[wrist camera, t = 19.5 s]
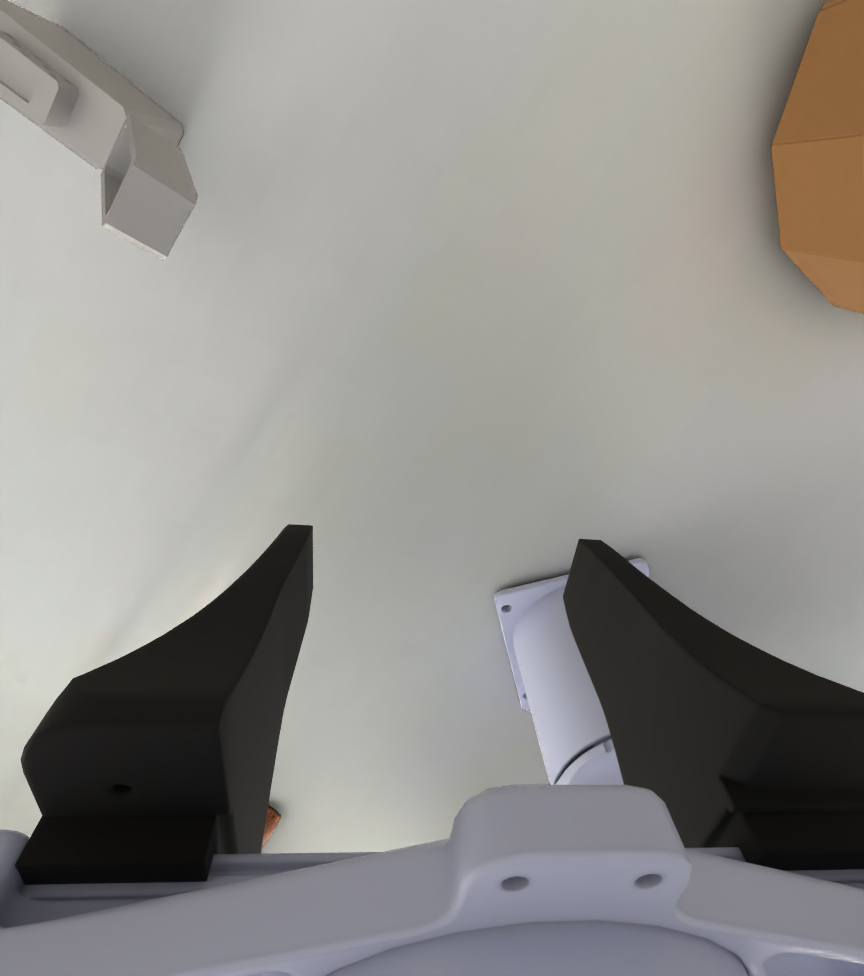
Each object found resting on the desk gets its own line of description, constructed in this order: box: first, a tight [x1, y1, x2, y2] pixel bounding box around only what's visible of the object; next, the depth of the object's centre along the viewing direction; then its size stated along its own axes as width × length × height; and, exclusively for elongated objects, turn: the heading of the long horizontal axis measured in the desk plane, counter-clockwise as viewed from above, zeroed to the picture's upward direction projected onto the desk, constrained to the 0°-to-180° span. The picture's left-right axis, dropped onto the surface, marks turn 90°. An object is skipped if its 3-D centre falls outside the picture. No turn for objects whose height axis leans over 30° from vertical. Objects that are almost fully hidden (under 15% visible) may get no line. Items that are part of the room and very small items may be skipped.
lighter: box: [0, 0, 198, 260], centre depth 14 cm, size 7×2×8 cm, turn 51°
